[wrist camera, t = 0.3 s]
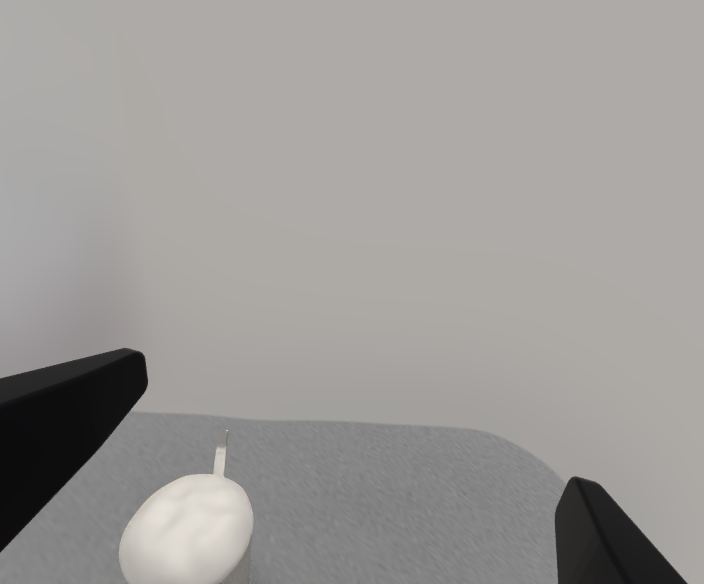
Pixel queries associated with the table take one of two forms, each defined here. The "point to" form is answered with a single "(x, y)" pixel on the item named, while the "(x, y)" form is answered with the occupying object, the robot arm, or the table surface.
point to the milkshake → (191, 531)
